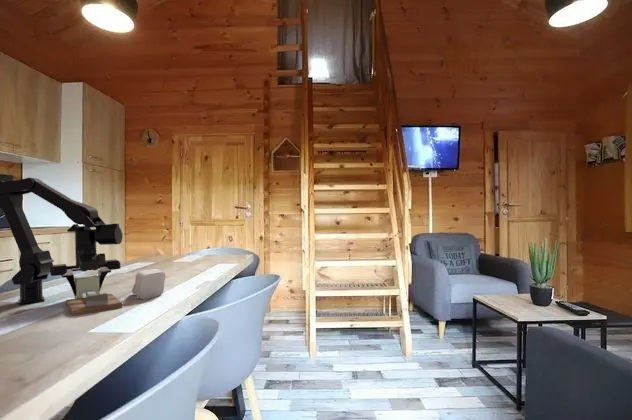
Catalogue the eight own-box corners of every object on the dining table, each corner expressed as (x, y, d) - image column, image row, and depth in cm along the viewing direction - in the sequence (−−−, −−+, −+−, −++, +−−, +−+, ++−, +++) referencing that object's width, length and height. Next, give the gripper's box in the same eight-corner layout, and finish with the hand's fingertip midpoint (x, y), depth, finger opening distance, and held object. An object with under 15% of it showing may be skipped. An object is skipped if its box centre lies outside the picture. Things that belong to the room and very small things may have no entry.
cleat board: (66, 305, 111) (65, 290, 111) (111, 298, 118) (110, 284, 118) (72, 316, 98) (71, 299, 98) (122, 307, 106) (121, 292, 106)
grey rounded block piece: (145, 289, 128) (148, 261, 126) (162, 300, 122) (165, 271, 121) (122, 294, 121) (125, 265, 120) (138, 305, 115) (141, 275, 114)
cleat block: (74, 298, 119) (74, 276, 119) (96, 295, 123) (95, 274, 123) (77, 302, 114) (76, 279, 114) (99, 299, 118) (99, 277, 118)
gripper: (51, 249, 106) (53, 303, 106) (123, 244, 118) (124, 293, 118) (49, 247, 115) (50, 297, 115) (116, 242, 127) (117, 288, 127)
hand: (87, 294), depth 118 cm, fingers closed on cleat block, 6 cm apart
